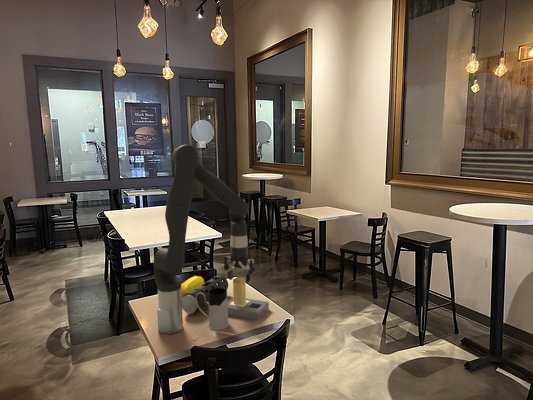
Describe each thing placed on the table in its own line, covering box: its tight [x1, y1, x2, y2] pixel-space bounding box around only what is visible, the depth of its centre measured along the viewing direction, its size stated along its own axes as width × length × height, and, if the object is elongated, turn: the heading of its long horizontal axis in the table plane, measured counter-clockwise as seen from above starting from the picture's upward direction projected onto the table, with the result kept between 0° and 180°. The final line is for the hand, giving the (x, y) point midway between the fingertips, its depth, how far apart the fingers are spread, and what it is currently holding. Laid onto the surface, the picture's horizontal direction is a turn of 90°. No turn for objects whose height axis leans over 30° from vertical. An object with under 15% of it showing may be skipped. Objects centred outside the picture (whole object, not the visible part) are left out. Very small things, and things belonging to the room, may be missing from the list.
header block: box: [228, 297, 270, 322], centre depth 169 cm, size 12×16×4 cm
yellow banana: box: [181, 275, 205, 297], centre depth 196 cm, size 18×7×8 cm
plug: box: [232, 276, 247, 305], centre depth 170 cm, size 4×4×11 cm
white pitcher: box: [195, 288, 230, 332], centre depth 157 cm, size 9×14×15 cm, turn 77°
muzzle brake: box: [182, 274, 229, 314], centre depth 179 cm, size 10×28×10 cm, turn 157°
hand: (239, 280), depth 169 cm, fingers open, 8 cm apart
